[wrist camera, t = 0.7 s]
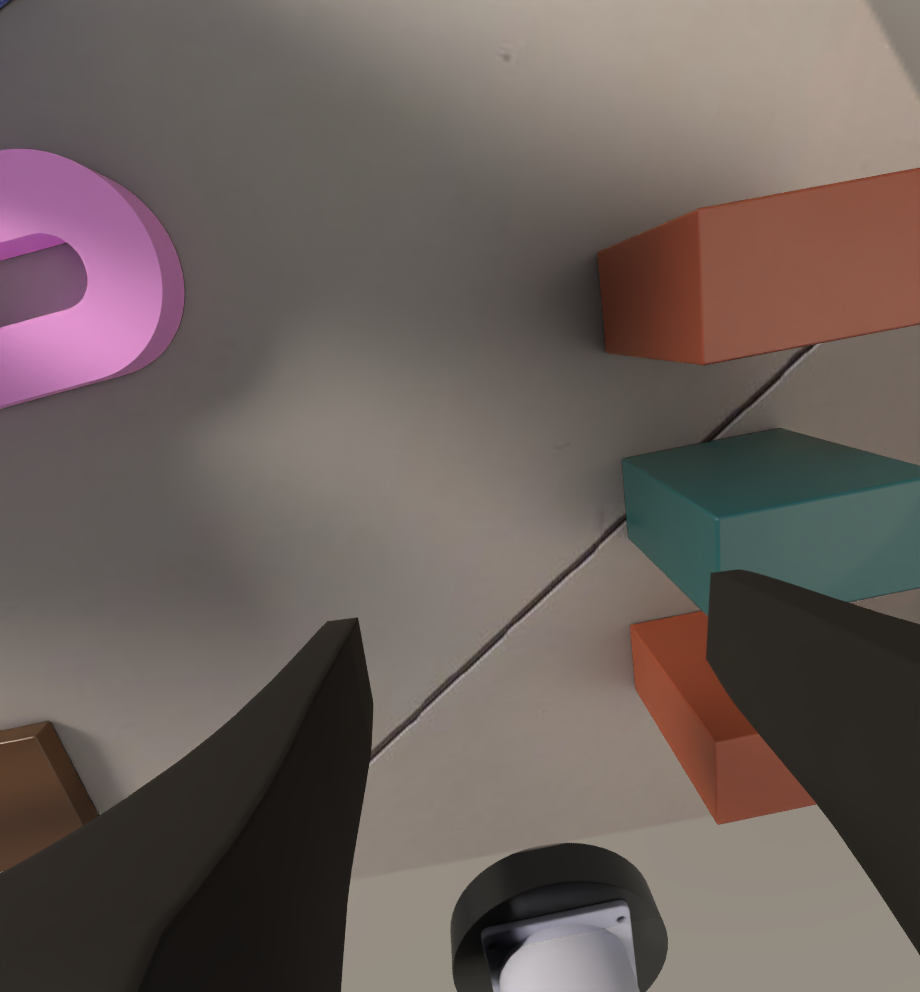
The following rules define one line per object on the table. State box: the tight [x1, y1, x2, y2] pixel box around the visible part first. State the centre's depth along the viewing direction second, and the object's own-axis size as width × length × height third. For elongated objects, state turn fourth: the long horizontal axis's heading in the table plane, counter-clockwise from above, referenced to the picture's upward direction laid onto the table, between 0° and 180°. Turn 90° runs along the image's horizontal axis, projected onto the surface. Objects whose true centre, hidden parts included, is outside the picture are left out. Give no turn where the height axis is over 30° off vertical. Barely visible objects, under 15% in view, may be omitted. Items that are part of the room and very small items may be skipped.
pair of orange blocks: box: [598, 168, 920, 824], centre depth 16 cm, size 16×6×6 cm, turn 10°
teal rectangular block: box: [622, 428, 920, 616], centre depth 16 cm, size 3×6×6 cm, turn 100°
